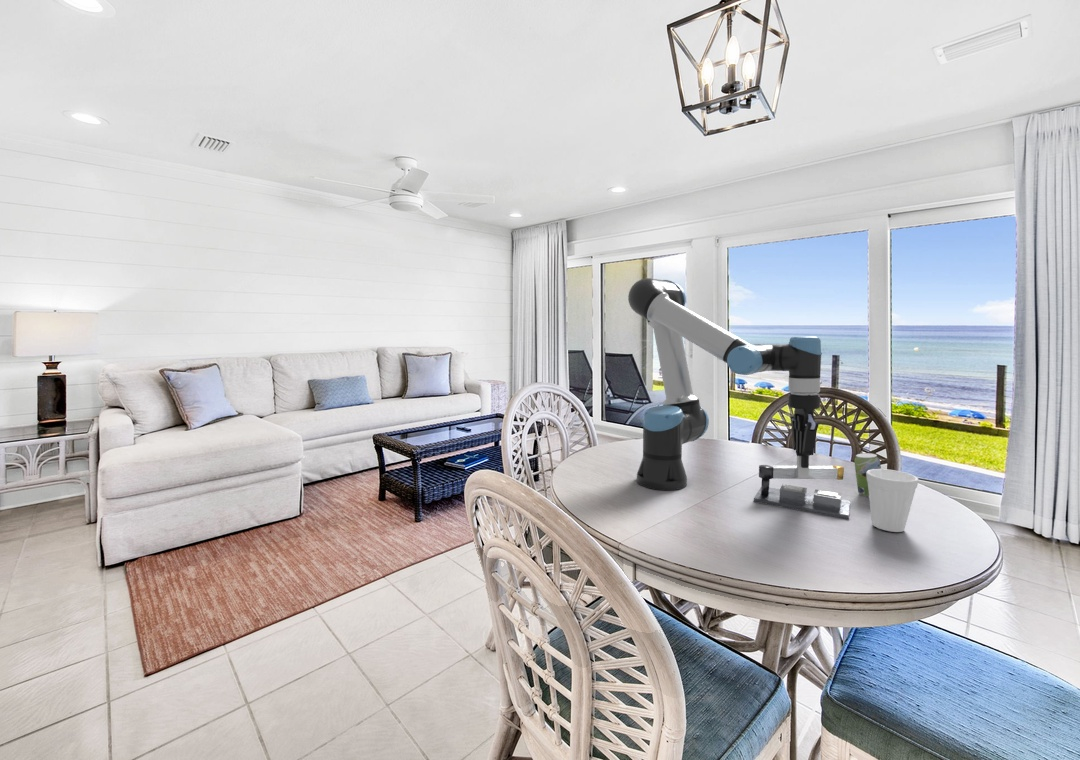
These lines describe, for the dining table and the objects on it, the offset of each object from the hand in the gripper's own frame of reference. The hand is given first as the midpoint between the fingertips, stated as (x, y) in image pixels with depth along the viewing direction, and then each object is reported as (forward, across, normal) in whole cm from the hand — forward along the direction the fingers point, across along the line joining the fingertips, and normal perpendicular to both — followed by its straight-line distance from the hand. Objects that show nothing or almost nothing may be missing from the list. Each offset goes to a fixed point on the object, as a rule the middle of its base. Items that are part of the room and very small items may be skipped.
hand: (802, 478), depth 131 cm
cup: (+7, -16, -13) cm, 22 cm away
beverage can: (+7, +7, -20) cm, 22 cm away
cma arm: (0, +2, 0) cm, 2 cm away
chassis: (+6, -2, +1) cm, 7 cm away
